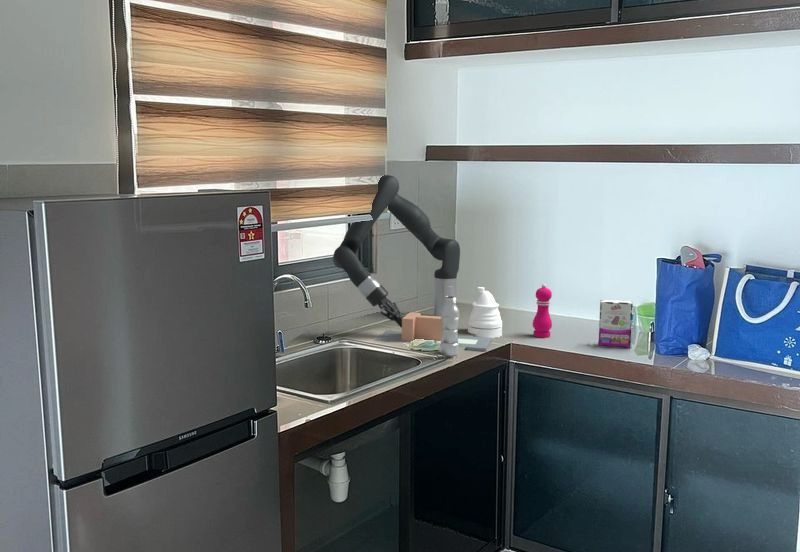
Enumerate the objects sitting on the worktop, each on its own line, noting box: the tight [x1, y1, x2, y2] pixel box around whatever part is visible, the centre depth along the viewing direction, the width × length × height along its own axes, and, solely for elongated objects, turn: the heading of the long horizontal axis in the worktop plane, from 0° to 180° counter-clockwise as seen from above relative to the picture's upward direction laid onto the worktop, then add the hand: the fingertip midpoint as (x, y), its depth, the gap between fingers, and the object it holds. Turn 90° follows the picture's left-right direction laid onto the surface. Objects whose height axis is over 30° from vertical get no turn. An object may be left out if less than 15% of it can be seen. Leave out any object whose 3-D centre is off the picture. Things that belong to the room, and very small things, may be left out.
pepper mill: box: [532, 283, 553, 339], centre depth 287 cm, size 7×7×20 cm
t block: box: [401, 311, 442, 341], centre depth 276 cm, size 12×14×8 cm
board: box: [374, 329, 493, 352], centre depth 276 cm, size 17×40×1 cm, turn 76°
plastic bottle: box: [439, 296, 461, 358], centre depth 254 cm, size 6×7×20 cm
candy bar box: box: [598, 299, 633, 349], centre depth 274 cm, size 11×5×16 cm, turn 77°
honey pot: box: [467, 286, 503, 339], centre depth 288 cm, size 13×13×18 cm
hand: (404, 326), depth 278 cm, fingers closed
